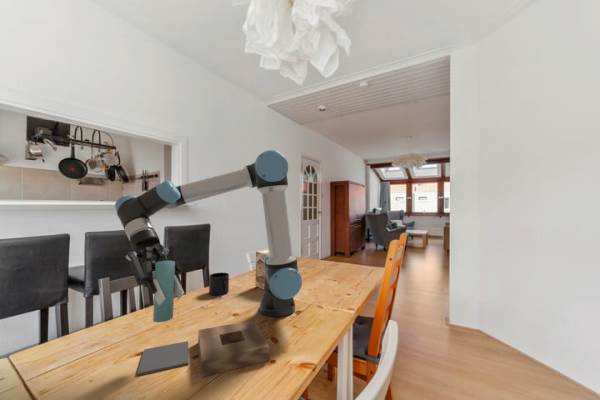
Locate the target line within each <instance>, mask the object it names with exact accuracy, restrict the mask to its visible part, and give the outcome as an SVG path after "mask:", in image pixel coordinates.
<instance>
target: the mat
mask: <svg viewBox="0 0 600 400" xmlns="http://www.w3.org/2000/svg"><path fill="white" fill-rule="evenodd" d="M183 366H189V340H187V341H181V342H175V343H171V344H165V345H161V346H155V347H154V346H153V347H150V348H145V349H143V351H142V356H141V359H140V362H139V365H138V370H137V372H136V377H139V376H143V375H147V374H152V373H157V372H161V371H165V370H169V369H175V368H180V367H183Z"/></svg>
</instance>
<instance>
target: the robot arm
mask: <svg viewBox="0 0 600 400" xmlns="http://www.w3.org/2000/svg"><path fill="white" fill-rule="evenodd" d="M288 172H289V163H288V159H287V157H285V155H284V154H283V153H281V152H280V151H277V150H273V149H269V150H266V151H263V152H262V153H260V154H259V155H258V156H257V157H256V159H255V162H253V163H251V164H248V165H245V166H244V167H243V168H242V169H238V170H236V171H232V172H231V171H230V172H228V173H227V172H226V173H223V174H218V175H215V176H212V177H211V176H210V177H208V178H205V179H204V178H203V179H200V180H196V181H193V182H189V183H183V184H181V185H177V186H176V185H175V184H174V183H173V182H172V181H171V180H168V179H167V180H164V181H163V182H160V183H157V184H156V185H155V186H153V187H152V188H151V189H149V190H147V191H144V193H142V194H140V195H139V196H137V195H135V194H128V195H126V196H124V195H123V196H121V197H119V198H118V199H117V200H116V201H115V203H114V207H115V211H116V215H117V218H119V221H120V223H121V225H122V227H123V230H124V232H125V235H126V237H127V238H128V241H129V243H130V246H131V248H132V251H128V252H127V254H126V255H125V257H124V259H125V261H126V262H127V263H128V264H129V266H130V269H131V271H132V274H133V277H134V279H135V281H136V284H137V285H138V286H141V285H143V286H144V287H145V288H147V290H148V292H149V294H151V295H153V297H154V296H155V299H156V301H157V303H158V305H161V304H162V303H163V302H164V300H165V297H164V294H163V292H162V290H161V288H160V285H159V283H158V281H157V279H155V278H154V275H153V267H152V262H155V263H156V262H159V261H175V277H174V295H175V296H176V298H177V300H179V299H181V298H182V297H183V296H184V294H185V291H184V289H183V287H182V281H181V279H180V275H181V273H182V272H183V267H181V264H180V263H179V261H178V258H177V257H176V254H175V253H174V248H173V246H169V247H164V245H163V244H162V243H161V240H160V237H159V235H158V233H157V232H156V229H155V227H154V225H153V223H152V222H151V219H150V217H151V216H154V215H155V214H157V213H158V212H160V211H162V210H164V209H176V208H178V207H180V206H183V205H186V204H190V203H194V202H197V201H200V200H205V199H208V198H211V197H215V196H220V195H222V194H226V193H229V192H233V191H237V190H240V189H245V188H250V189H254V188H257V190H258V191H259V193H261V199H262V204H263V213H264V220H265V222H264V223H265V230H266V237H267V238H266V239H267V246H268V251H269V256H266V257H265V262H264V264H265V272H264V290H263V294H262V296H261V300H260V303H259V312H260V314H262V315H264V316H267V317H274V318H275V317H277V318H278V317H280V316H281V317H286V315H287V316H289V314H290V315H292V314H293V313H294V312H295V311H296V303H295V299H294V297H296V296H297V295H298V293H299V292H300V290H301V289H302V286H303V278H302V274H301V272H299V266H298V258H297V256H295V254H293V249H292V242H291V241H292V240H291V234H290V233H291V232H290V225H289V224H290V222H289V216H288V207H287V206H288V205H287V198H286V192H285V191H286V190H287V188H288V187H289V182H288ZM140 260H141V263H140V262H139V261H140ZM141 265H142V266H141ZM291 313H292V314H291Z"/></svg>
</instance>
